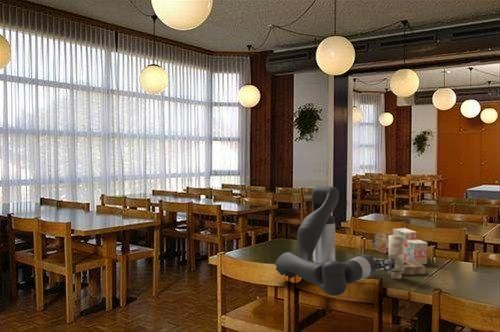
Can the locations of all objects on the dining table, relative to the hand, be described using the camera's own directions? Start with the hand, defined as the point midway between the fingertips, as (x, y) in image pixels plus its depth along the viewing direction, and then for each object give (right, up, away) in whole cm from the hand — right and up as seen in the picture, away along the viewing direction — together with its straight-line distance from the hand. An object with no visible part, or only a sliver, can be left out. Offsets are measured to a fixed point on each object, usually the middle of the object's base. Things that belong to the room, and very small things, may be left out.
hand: (382, 259), depth 172 cm
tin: (+16, -7, +55) cm, 58 cm away
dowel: (+8, -9, +8) cm, 14 cm away
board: (+13, -8, +19) cm, 24 cm away
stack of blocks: (+23, -8, +40) cm, 47 cm away
